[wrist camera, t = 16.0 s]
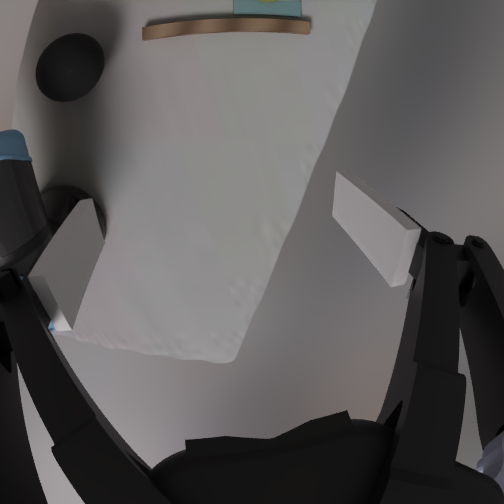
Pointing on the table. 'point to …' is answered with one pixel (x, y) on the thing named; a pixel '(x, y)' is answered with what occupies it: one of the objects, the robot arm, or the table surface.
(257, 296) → the table surface
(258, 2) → the marked pad
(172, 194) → the table surface
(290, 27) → the pair of walnut rails
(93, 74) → the speaker
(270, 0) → the plant pot
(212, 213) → the table surface
